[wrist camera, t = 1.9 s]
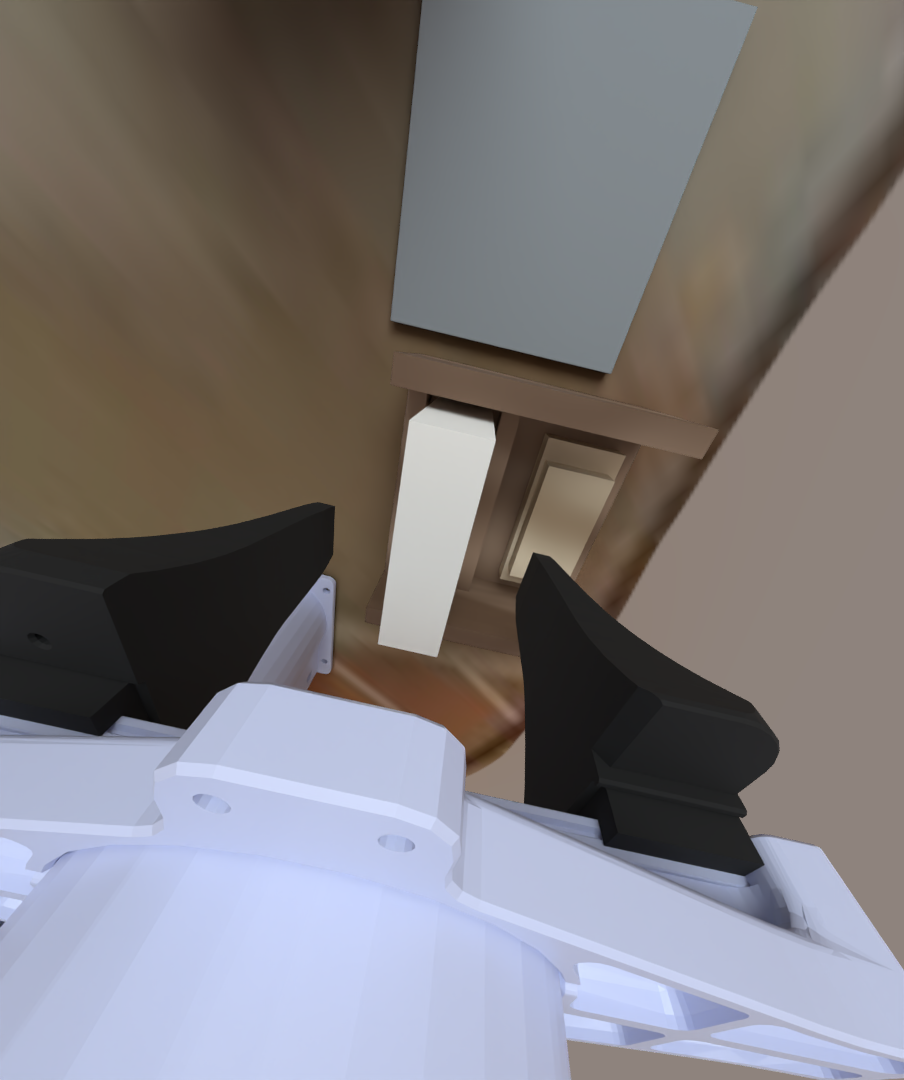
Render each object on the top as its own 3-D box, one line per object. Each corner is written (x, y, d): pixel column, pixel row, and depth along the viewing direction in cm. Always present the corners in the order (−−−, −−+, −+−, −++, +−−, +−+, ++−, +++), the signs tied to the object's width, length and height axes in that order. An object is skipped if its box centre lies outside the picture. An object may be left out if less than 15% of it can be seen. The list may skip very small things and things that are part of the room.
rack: (557, 600, 22) (577, 669, 17) (392, 563, 21) (364, 622, 17) (648, 408, 16) (719, 429, 11) (422, 354, 16) (393, 351, 11)
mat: (606, 373, 15) (610, 373, 15) (393, 321, 15) (390, 320, 14) (743, 25, 10) (757, 7, 10) (433, -58, 10) (430, -82, 10)
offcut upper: (561, 577, 18) (564, 588, 17) (508, 565, 18) (509, 575, 17) (607, 474, 15) (615, 481, 15) (545, 460, 15) (549, 466, 14)
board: (452, 565, 20) (437, 657, 14) (411, 556, 20) (377, 644, 14) (492, 408, 15) (495, 440, 9) (439, 396, 15) (409, 419, 9)
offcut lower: (558, 582, 20) (561, 592, 19) (499, 568, 20) (499, 578, 19) (618, 450, 16) (626, 455, 15) (545, 433, 16) (549, 437, 15)
